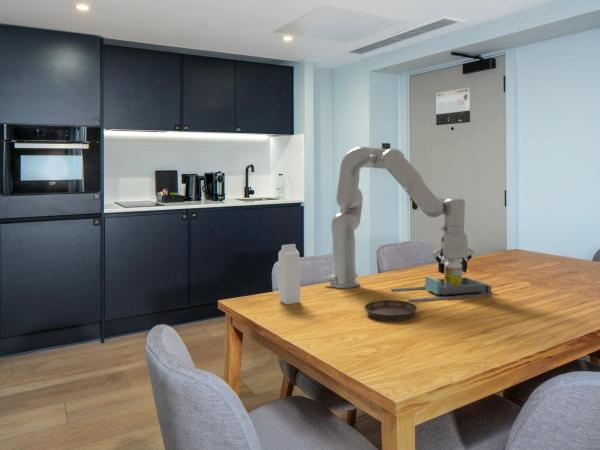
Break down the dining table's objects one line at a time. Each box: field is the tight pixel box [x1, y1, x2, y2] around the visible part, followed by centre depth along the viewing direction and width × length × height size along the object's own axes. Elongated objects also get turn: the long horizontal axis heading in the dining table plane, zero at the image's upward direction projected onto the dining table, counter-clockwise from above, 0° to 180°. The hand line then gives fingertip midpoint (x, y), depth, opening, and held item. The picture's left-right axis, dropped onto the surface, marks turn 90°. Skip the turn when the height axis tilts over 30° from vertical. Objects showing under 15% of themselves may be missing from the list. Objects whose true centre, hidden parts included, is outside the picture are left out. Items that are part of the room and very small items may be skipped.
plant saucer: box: [363, 299, 418, 322], centre depth 172 cm, size 18×18×3 cm
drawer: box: [424, 275, 487, 296], centre depth 201 cm, size 20×14×6 cm
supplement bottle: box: [444, 259, 463, 287], centre depth 200 cm, size 7×7×13 cm
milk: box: [277, 243, 301, 305], centre depth 190 cm, size 6×6×22 cm
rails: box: [390, 279, 492, 303], centre depth 200 cm, size 36×18×3 cm, turn 102°
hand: (452, 272), depth 200 cm, fingers open, 9 cm apart
